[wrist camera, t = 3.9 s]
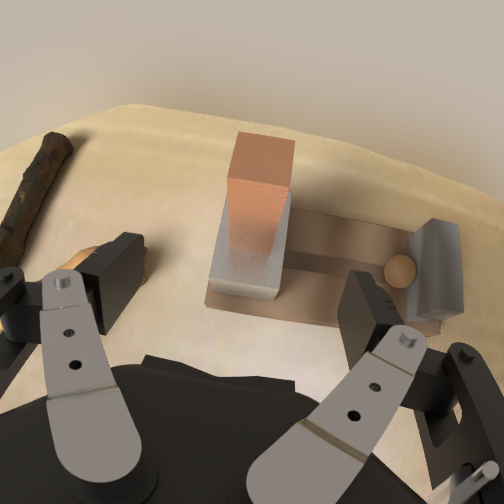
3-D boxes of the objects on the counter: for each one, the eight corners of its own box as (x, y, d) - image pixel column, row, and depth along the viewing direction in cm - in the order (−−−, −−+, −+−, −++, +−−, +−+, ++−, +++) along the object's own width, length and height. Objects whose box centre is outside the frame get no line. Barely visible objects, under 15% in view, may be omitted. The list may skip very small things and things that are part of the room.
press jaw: (284, 215, 29) (315, 112, 17) (272, 301, 26) (305, 238, 14) (230, 205, 29) (229, 99, 17) (212, 291, 26) (194, 219, 14)
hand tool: (56, 147, 34) (41, 125, 30) (78, 151, 34) (64, 127, 30) (-10, 284, 28) (-35, 272, 23) (10, 296, 27) (-15, 283, 23)
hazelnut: (406, 263, 29) (421, 252, 26) (406, 293, 27) (422, 285, 25) (379, 258, 29) (393, 246, 26) (378, 289, 27) (393, 280, 25)
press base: (428, 245, 32) (464, 217, 25) (429, 337, 28) (471, 325, 22) (227, 207, 32) (225, 166, 25) (206, 307, 28) (197, 287, 22)
